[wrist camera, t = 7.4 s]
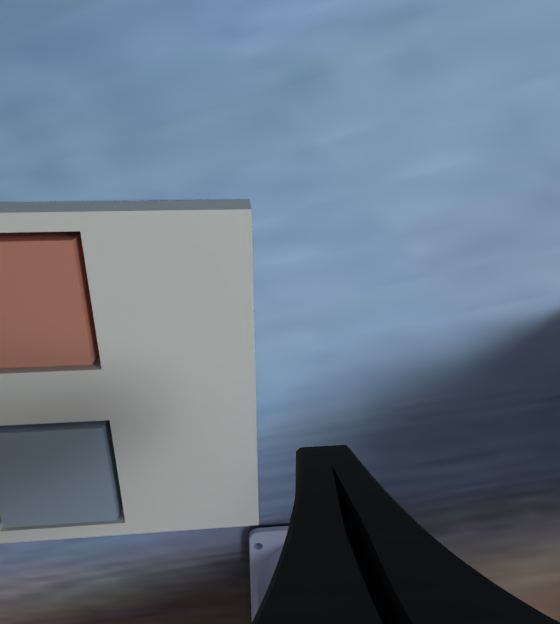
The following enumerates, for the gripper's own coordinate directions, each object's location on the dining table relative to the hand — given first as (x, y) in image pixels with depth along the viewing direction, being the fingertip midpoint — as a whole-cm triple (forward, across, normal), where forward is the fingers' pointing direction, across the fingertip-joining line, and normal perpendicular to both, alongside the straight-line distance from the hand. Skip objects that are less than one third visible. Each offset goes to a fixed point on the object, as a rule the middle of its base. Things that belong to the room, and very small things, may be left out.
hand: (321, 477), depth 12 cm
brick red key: (+10, +10, -3) cm, 15 cm away
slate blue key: (+10, +11, +6) cm, 16 cm away
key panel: (+10, +10, +2) cm, 15 cm away
